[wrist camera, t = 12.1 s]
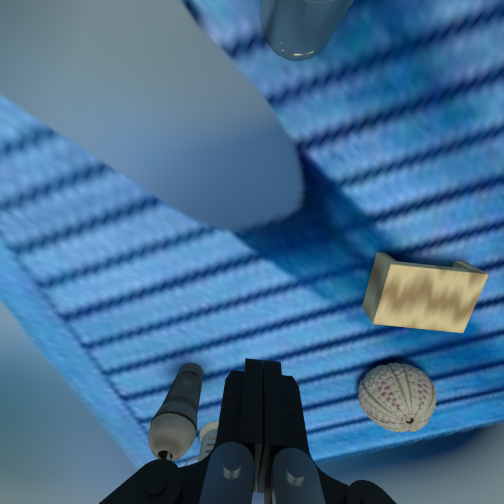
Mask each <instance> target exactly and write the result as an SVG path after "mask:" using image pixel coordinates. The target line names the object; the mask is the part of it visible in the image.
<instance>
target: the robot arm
mask: <svg viewBox="0 0 504 504" xmlns="http://www.w3.org/2000/svg"><path fill="white" fill-rule="evenodd" d="M353 1H354V0H262V27H263V31H264V34H265V37H266V39H267V41H268V43H269V45H270V46H271V47H272V49H273V50H274V51H275V52H277V53H278V54H279V55H280V56H282V57H284V58H286V59H290V60H304V59H308V58H310V57H312V56H314V55H316V54H317V53H319V52H320V51H321V50H322V49H323V48H324V47H325V46H326V44H327V43H328V42H329V40H330V39H331V37H332V35H333V34H334V32H335V30H336V29H337V27H338V26H339V24H340V22H341V21H342V19H343V17H344V16H345V14H346V12H347V11H348V9H349V7H350V6H351V4H352V2H353ZM256 484H257V492H260V493H264V504H396V503H395V502H394V501H393V500H392V499H391V497H390V496H389V495H388V494H387V493H386V492H385V491H384V490H383V489H381V488H380V487H379V486H377V485H376V484H374V483H372V482H370V481H366V480H357V481H355V482H353V483H352V484H351V485H350V486H348V485H346V484H344V483H342V482H340V481H338V480H335V479H333V478H331V477H329V476H328V475H326V474H325V473H323V472H322V471H321V470H320V469H319V468H318V467H317V465H316V464H315V462H314V461H313V459H312V457H311V455H310V452H309V447H308V441H307V435H306V428H305V422H304V416H303V411H302V404H301V397H300V391H299V386H298V385H297V383H296V381H295V380H294V378H293V377H292V376H285V375H282V371H281V362H278V361H268V360H263V365H262V360H257V359H247V358H246V359H245V368H244V371H235V370H232V371H231V372H230V374H229V375H228V377H227V378H226V380H225V386H224V393H223V399H222V405H221V411H220V417H219V424H218V430H217V436H216V442H215V445H214V447H213V449H212V451H211V452H210V453H209V455H207V456H206V457H205V458H204V459H203V460H201V461H199V462H197V463H195V464H191V465H188V466H184V467H180V468H178V466H177V465H176V464H175V463H174V462H172V461H170V460H168V459H157V460H153V461H151V462H149V463H147V464H146V465H144V466H143V467H142V468H140V469H139V470H138V471H137V472H136V473H135V474H133V475H132V476H131V477H130V478H129V479H128V480H126V481H125V482H124V483H123V484H122V485H121V486H119V487H118V488H117V489H116V490H114V491H113V492H112V493H111V494H110V495H108V496H107V497H106V498H105V499H104V500H103V501H101V502H100V503H99V504H251V502H252V495H253V492H255V490H256Z"/></svg>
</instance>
